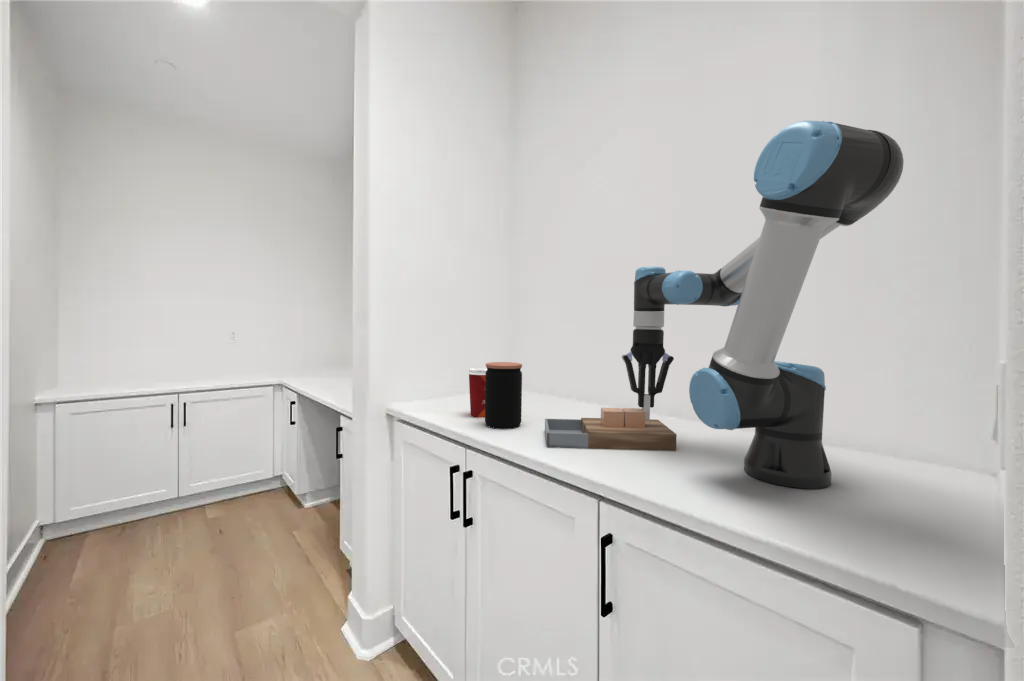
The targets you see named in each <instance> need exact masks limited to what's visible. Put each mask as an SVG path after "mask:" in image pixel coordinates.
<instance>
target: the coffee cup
mask: <svg viewBox="0 0 1024 681" xmlns="http://www.w3.org/2000/svg"><path fill="white" fill-rule="evenodd" d="M486 371H487V367H475V368H474V367H472V368H469V370H468V372H467V374H468V385H469V388H468V389H469V404H470V406H469V408H470V417H472V416H473V417H472V418H476V417H485V381H486Z"/></svg>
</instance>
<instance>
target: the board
mask: <svg viewBox="0 0 1024 681" xmlns="http://www.w3.org/2000/svg"><path fill="white" fill-rule="evenodd" d="M580 420H581V431H582V433H588V448H587V449H593V450H594V449H597V450H599V449H601V450H602V449H603V450H637V451H639V450H640V451H641V450H642V451H670V452H671V451H672V452H673V451H674V452H676V451H677V433H676V432H674V431H673V430H672V429H671V428H669V427H668V426H667V425H665V424H664V423H663V422H662V421H660V419H651V418H650V421H645V428H626V427H624V428H619V427H603V425H602V424H601V417H581V418H580Z"/></svg>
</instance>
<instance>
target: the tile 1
mask: <svg viewBox="0 0 1024 681" xmlns="http://www.w3.org/2000/svg"><path fill="white" fill-rule="evenodd" d="M600 418H601V424H602V425H603V427H619V428H624V412H623V411H622V408H621V407H600Z"/></svg>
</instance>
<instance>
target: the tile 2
mask: <svg viewBox="0 0 1024 681" xmlns="http://www.w3.org/2000/svg"><path fill="white" fill-rule="evenodd" d="M621 410H622V411H623V412H624V427H626V428H645V412H644V411H643V410H642V407H639V408H638V407H636V408H635V407H633V408H631V407H621Z"/></svg>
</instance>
